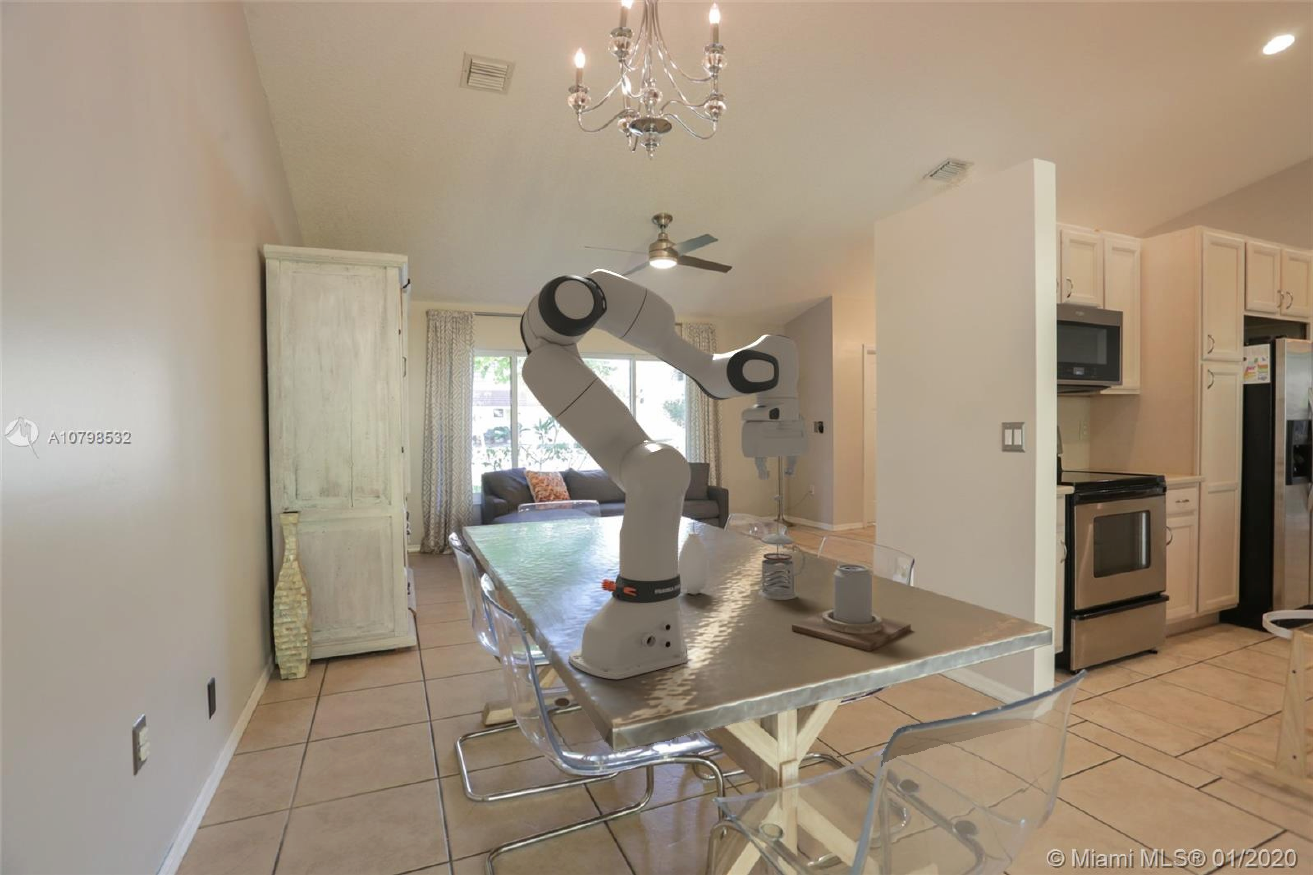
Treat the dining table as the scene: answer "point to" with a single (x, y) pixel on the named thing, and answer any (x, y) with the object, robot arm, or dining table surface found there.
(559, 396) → the robot arm
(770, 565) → the french press
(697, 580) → the sauce bottle
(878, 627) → the seat board
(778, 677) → the dining table surface
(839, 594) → the can
